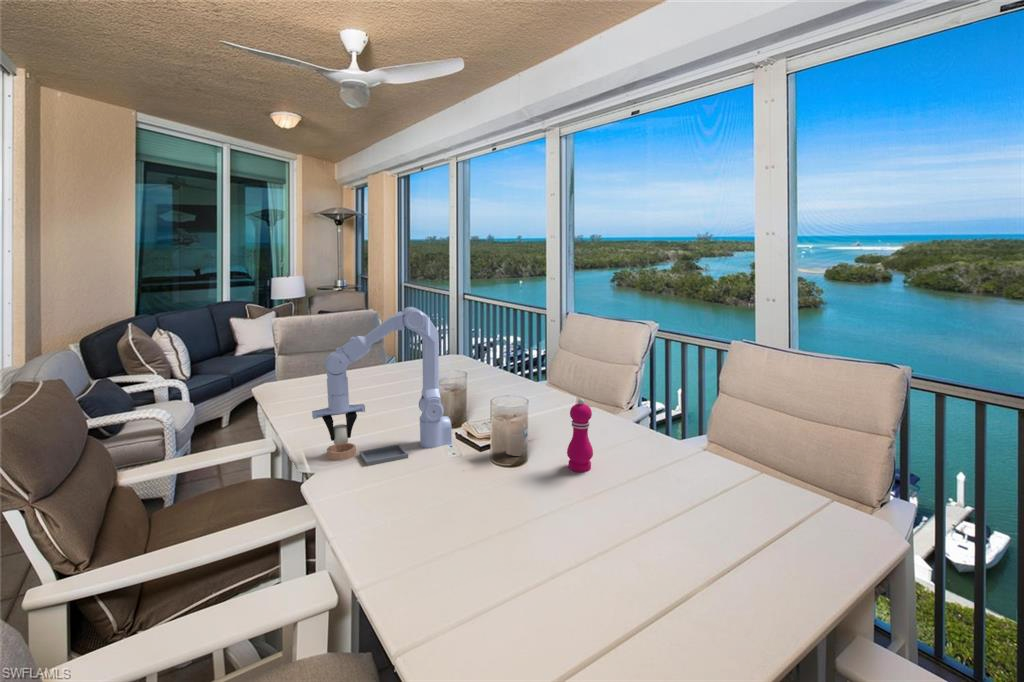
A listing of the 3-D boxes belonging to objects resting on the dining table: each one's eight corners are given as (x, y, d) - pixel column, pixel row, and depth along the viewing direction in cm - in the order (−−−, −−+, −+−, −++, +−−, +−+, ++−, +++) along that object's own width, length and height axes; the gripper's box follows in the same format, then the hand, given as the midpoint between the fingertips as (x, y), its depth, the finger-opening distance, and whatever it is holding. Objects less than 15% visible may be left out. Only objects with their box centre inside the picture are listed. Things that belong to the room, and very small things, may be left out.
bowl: (352, 450, 150) (352, 441, 149) (358, 459, 143) (357, 449, 142) (325, 455, 146) (325, 445, 145) (330, 464, 139) (329, 454, 138)
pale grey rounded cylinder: (346, 438, 146) (345, 423, 145) (349, 443, 143) (348, 427, 142) (332, 441, 144) (331, 425, 143) (335, 445, 141) (334, 429, 140)
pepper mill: (595, 464, 139) (597, 396, 136) (588, 474, 132) (590, 403, 129) (571, 460, 142) (572, 394, 139) (563, 470, 135) (564, 400, 132)
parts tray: (399, 450, 150) (399, 444, 149) (408, 460, 142) (408, 453, 142) (359, 457, 144) (359, 451, 144) (366, 468, 136) (366, 462, 136)
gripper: (360, 387, 148) (362, 430, 150) (309, 393, 141) (312, 438, 143) (365, 392, 142) (368, 437, 144) (312, 399, 135) (315, 445, 137)
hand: (340, 438), depth 143 cm, fingers closed on pale grey rounded cylinder, 4 cm apart
